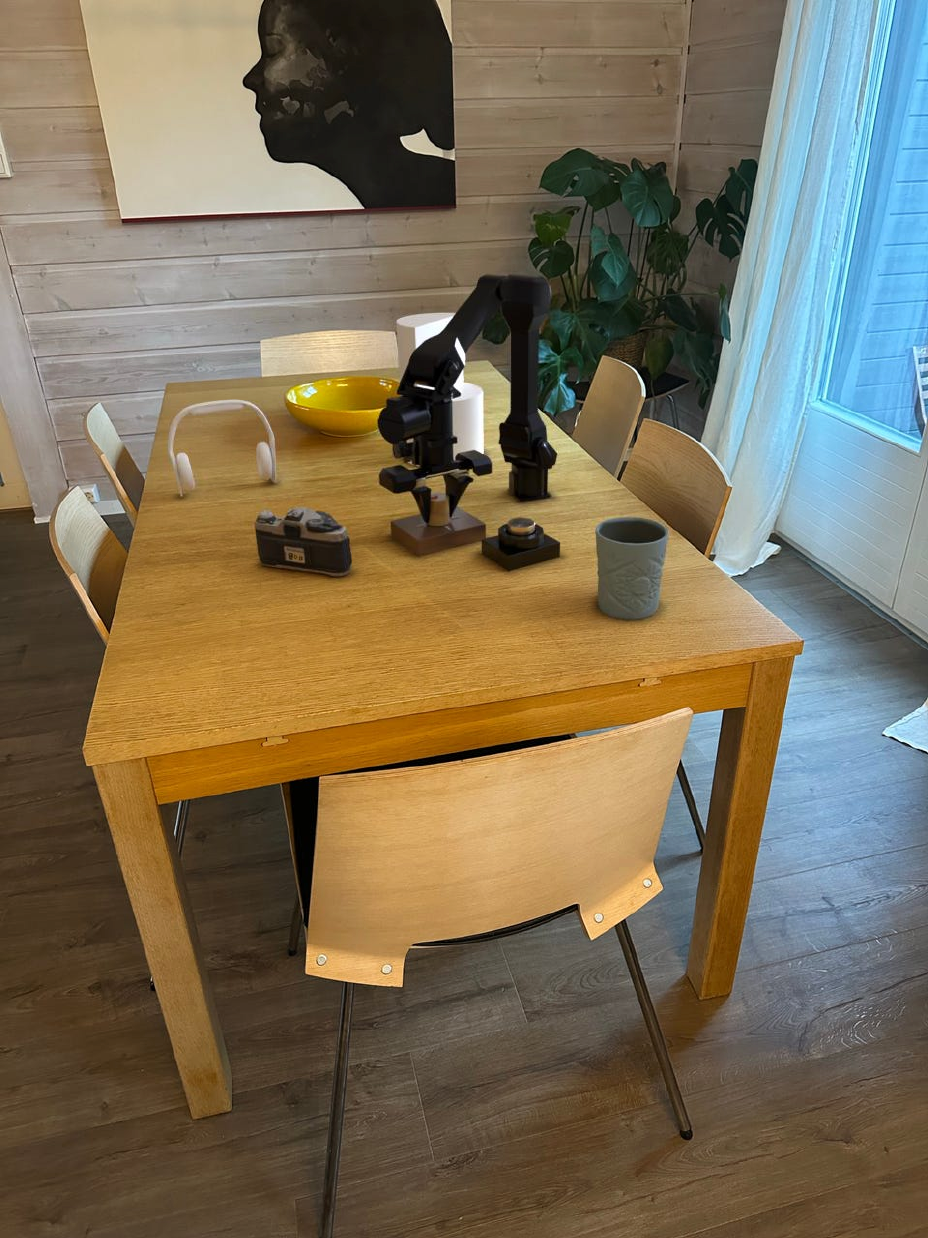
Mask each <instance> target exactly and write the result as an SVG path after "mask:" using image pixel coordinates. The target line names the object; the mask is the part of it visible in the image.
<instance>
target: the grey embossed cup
mask: <svg viewBox="0 0 928 1238" xmlns="http://www.w3.org/2000/svg"><path fill="white" fill-rule="evenodd" d="M669 535H670V531H669V529H668V528H667V526H666V525H664V524H663V523H661V522H659V521H656V520H653V519H651V518H646V517H637V516H620V517H614V518H608V519H605V520H603V521H601V522H600V523H598V524H597V525H596V526H595V550H596V558H597V577H598V580H597V604H598V607H599V609H600V611H601V613H604V614H606V615H608V617H611V618H612V617H613V618H615V619H620V620H628V621H629V620H630V621H633V620H634V621H635V620H644V619H647V618H650V617H652V616H653V615H655V614H656V612H657V610H658V609H659V608H658V607H659V604H660V596H661V583H662V578H663V568H664V565H665V562H666V554H667V547H668V543H669Z"/></svg>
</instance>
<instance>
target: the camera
mask: <svg viewBox="0 0 928 1238" xmlns="http://www.w3.org/2000/svg"><path fill="white" fill-rule="evenodd" d="M254 529H255V539H256V546H257V553H258V558H259V563H260V565H262V566H266V567H272V568H277V569H287V570H291V571H292V570H293V571H301V572H310V573H311V572H312V573H316V574H324V575H328V576H331V577H343V576H347V575H348V574H349V573H350V570H351V565H352V563H353V560H352V554H351V553H352V552H351V551H352V550H351V545H350V544H351V539H350V537H349V535H348V532H347V528H346V526H344V525H342V524H340V523H339V521H337V520H336V519H334V518H333V516H332V515H330V513H327V512H325V511H322V510H316V511H315V510H313V509H312V508H309V507H307V506H299V505H298V506H296V507H294V508H290V509H289V510H287V512H286V516H284V517H283V516H282V517H281V516H275V514H273V513H272V511H271V510H267V509H263V510H261V511H260V512H258V515H257V517H256V519H255V520H254Z"/></svg>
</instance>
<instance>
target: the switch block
mask: <svg viewBox="0 0 928 1238" xmlns="http://www.w3.org/2000/svg"><path fill="white" fill-rule="evenodd" d="M543 527H544V526H543ZM543 527H542V526H541V525H539V524H537V523H535V533H534V534H533V535H530V536H526V537H517V536H512V535H509V534H508V533H507V523H504V524H502V525H501V526H500V527H498V528H497V535H493V536H489V537H486V538H485V539H482V541H481V555H482V556H484V557H486V558H487V559H488V560H490V561H491V562H493V563H494V564H496V565H498V566H499V567H500V568H503V569H504V570H505V571H507V572H511V571H515V570H519V569H523V568H526V567H530V566H533V565H537V564H540V563H543V562H547V561H552V560H555V559H558V558H559V559H560V558H561V542H560V540H559V541H558V540H557V539H555V538H553V537H552V536H550V535H548V534H546V533H545V530H544V528H543Z"/></svg>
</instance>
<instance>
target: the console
mask: <svg viewBox="0 0 928 1238" xmlns="http://www.w3.org/2000/svg"><path fill="white" fill-rule="evenodd" d="M389 524H390V536H391V538H392V539H394V540H395V541H396V542H397V543H399V544H400V545H402V546H403V547H404V548H405V549H407V550H408V551H410V552H411V553H413V554H414V555H415V556H417V557H418V558H420V557H424V556H428V555H433V554H436V553H440V552H443V551H448V550H452V549H455V548H460V547H464V546H467V545H471V544H476V543H479V542H482V539H485V538H487V524H486V523H485V522H483V521H482V520H481V519H478V518H477V517H475V516H474V515H472V514H470V513H469V512H467V511H465V510H464V509H463V508H460V507H459V506H457V507H456V509H455V511H454V513H453V515H452V517H451V518H450V522H449V523H448V524H447V525H444V526H431V525H428V524H427V523H426V522H424V520H423V518H422V515H421V513H419V514H414V515H411V516H406V517H401V518H397V519H393V520H390V523H389Z"/></svg>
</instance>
